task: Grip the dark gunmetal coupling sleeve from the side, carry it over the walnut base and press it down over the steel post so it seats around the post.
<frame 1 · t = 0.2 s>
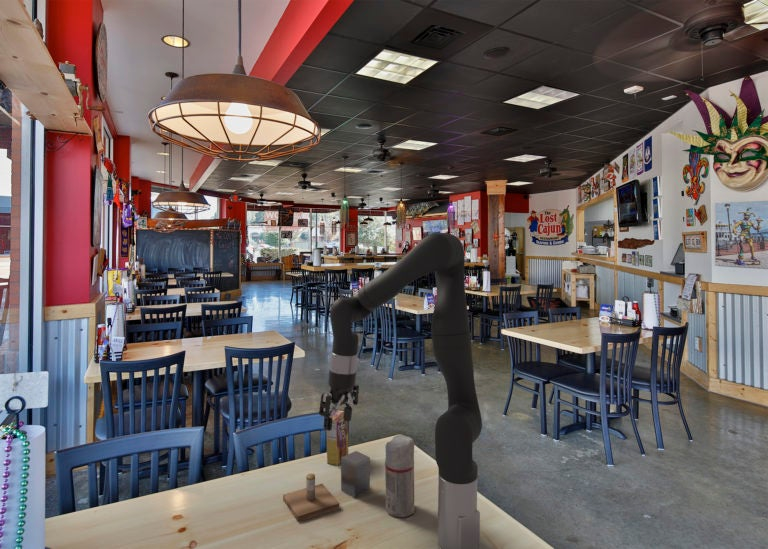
hand: (337, 424, 123), 22 cm above the table, tool pointing down, fingers open, 8 cm apart
post block: (310, 504, 123), on the table
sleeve: (355, 490, 130), on the table
spray can: (400, 510, 120), on the table
candy box: (337, 459, 150), on the table
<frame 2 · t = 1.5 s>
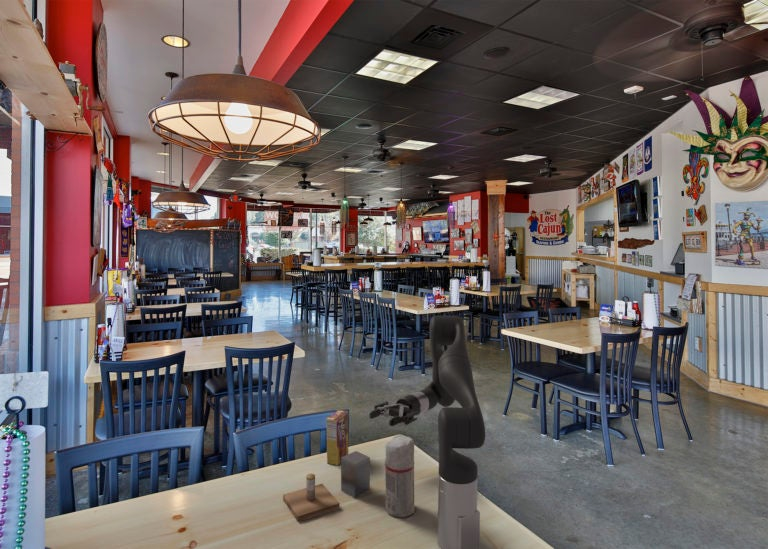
hand: (380, 419, 137), 18 cm above the table, tool horizontal, fingers open, 8 cm apart
nothing on the table moved.
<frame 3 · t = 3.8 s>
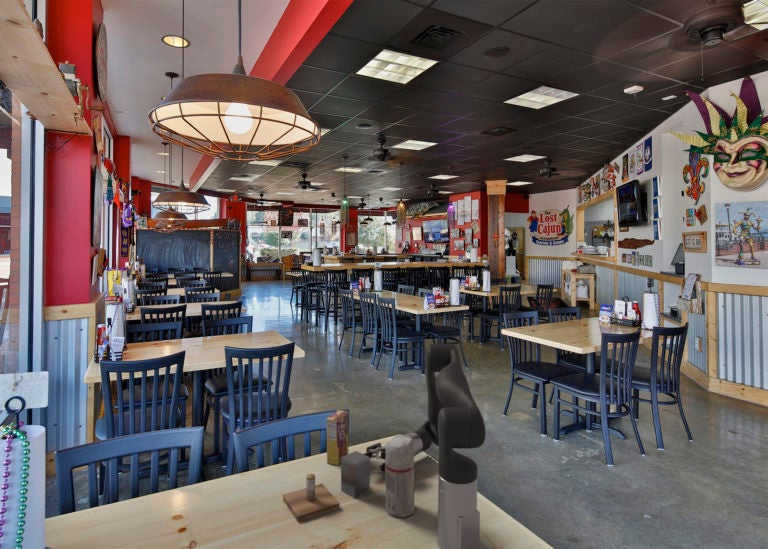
hand: (371, 463, 134), 6 cm above the table, tool horizontal, fingers open, 8 cm apart
nothing on the table moved.
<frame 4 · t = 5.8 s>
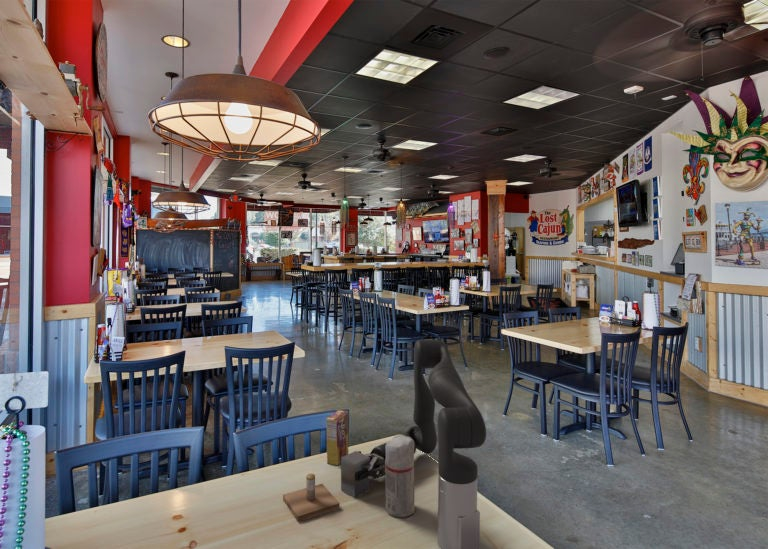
hand: (349, 473, 128), 6 cm above the table, tool horizontal, fingers closed on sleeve, 6 cm apart
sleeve: (355, 490, 130), on the table, touching gripper
everything else where it was.
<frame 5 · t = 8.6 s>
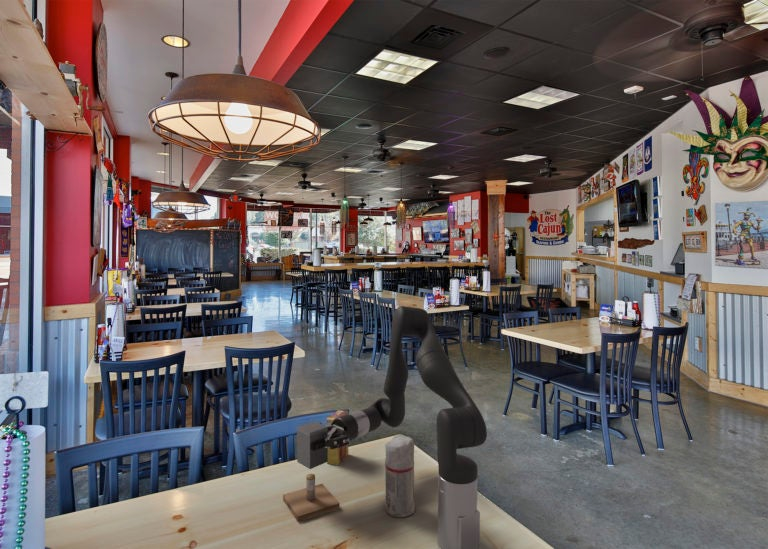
hand: (305, 443, 121), 18 cm above the table, tool horizontal, fingers closed on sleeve, 6 cm apart
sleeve: (312, 461, 123), point 12 cm above the table, touching gripper
everything else where it was.
when the fingers open (8 cm above the table, at t = 11.4 s): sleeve drops 1 cm, resting on post block.
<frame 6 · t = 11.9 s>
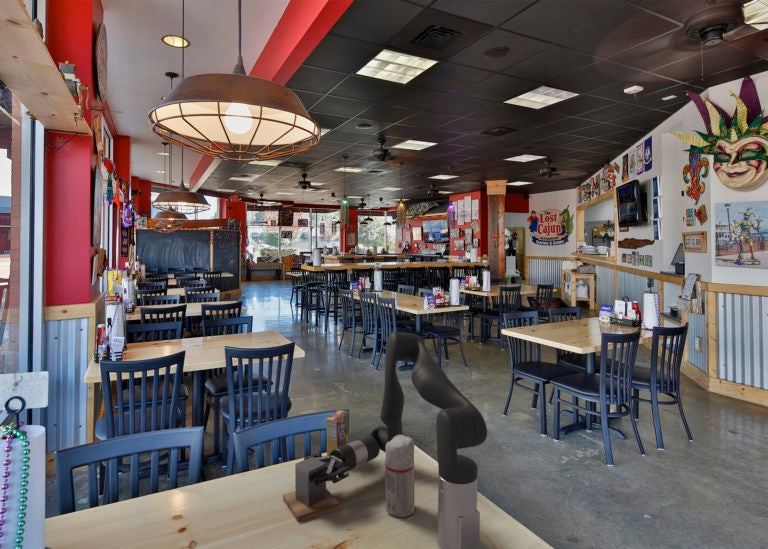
hand: (305, 476, 121), 9 cm above the table, tool horizontal, fingers open, 8 cm apart
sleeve: (310, 498, 123), point 1 cm above the table, touching post block
everything else where it was.
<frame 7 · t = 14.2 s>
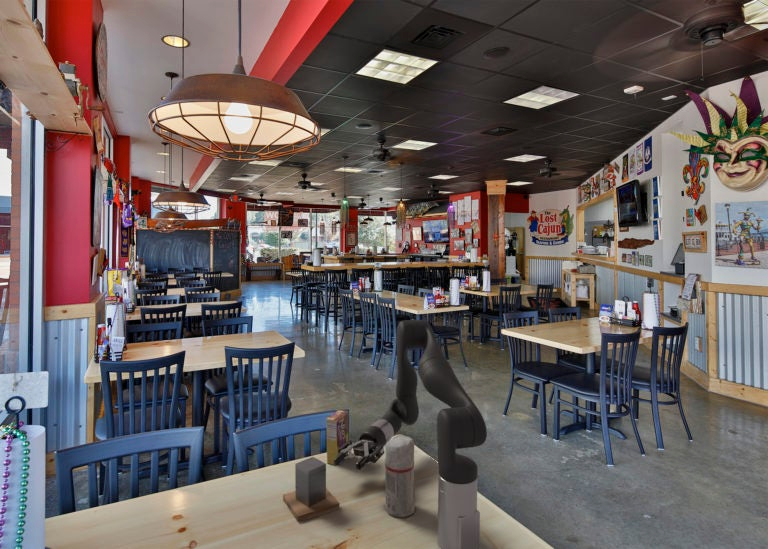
hand: (346, 465, 128), 8 cm above the table, tool horizontal, fingers open, 8 cm apart
nothing on the table moved.
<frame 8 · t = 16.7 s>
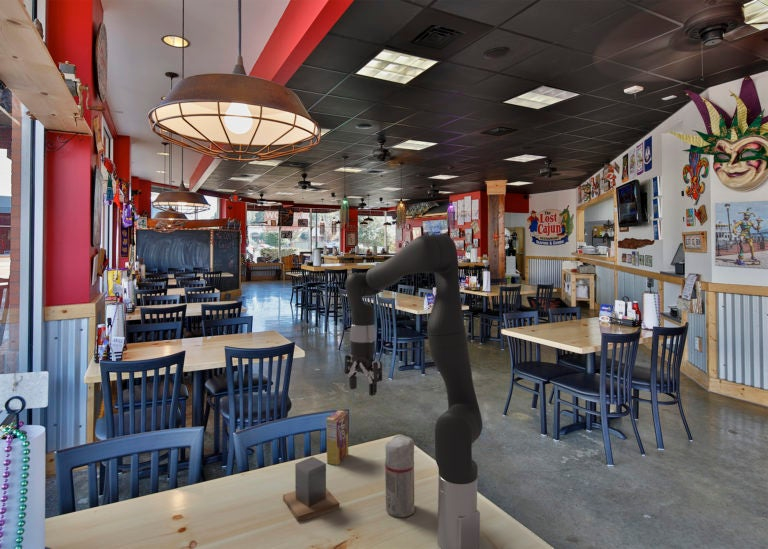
hand: (362, 391, 133), 28 cm above the table, tool pointing down, fingers open, 8 cm apart
nothing on the table moved.
at the end: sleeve 0.1 cm off-centre on the post block, point 1.5 cm above the post block's base; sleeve tilted 0°; the gripper is holding nothing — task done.
